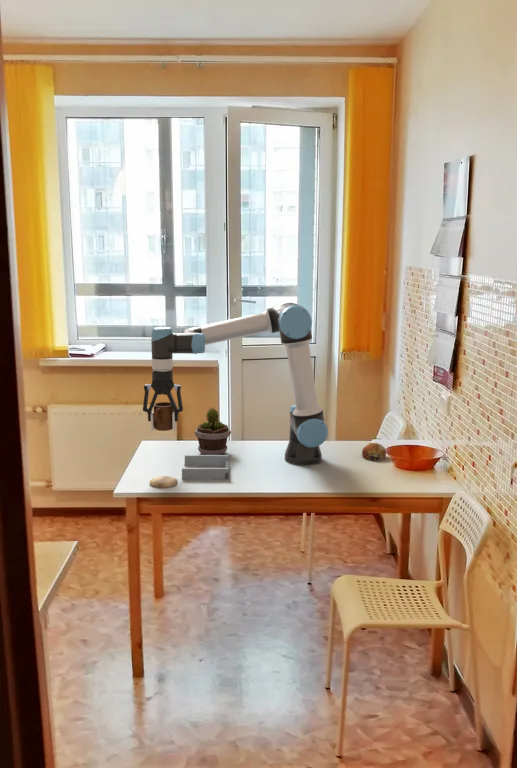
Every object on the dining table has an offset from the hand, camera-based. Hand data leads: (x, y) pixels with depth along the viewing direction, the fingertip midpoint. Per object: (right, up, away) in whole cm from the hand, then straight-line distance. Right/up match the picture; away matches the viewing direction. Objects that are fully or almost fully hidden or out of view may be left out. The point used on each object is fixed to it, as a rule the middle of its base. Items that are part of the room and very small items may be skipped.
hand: (163, 429), depth 248 cm
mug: (-1, 0, +1) cm, 1 cm away
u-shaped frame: (+16, -17, +6) cm, 23 cm away
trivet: (+1, -19, -7) cm, 20 cm away
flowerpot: (+17, -12, +28) cm, 35 cm away
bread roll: (+83, -14, +27) cm, 89 cm away
